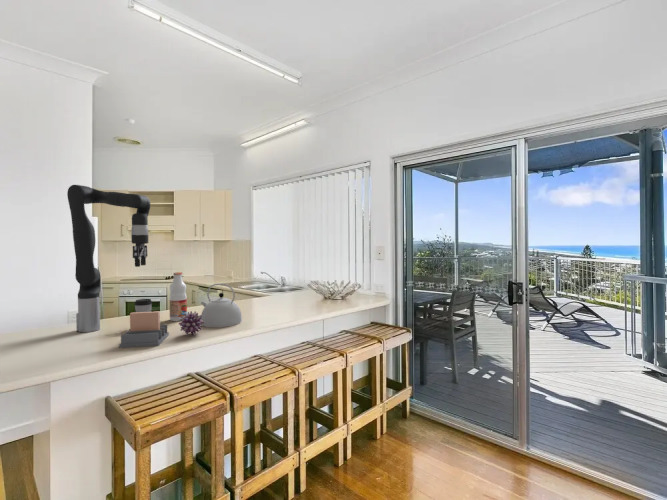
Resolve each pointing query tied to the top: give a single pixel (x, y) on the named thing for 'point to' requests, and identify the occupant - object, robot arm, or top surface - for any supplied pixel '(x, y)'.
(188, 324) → the flower
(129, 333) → the rack
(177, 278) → the fruit juice
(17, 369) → the top surface
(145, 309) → the coffee cup
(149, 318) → the tall peach block
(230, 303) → the kettle
